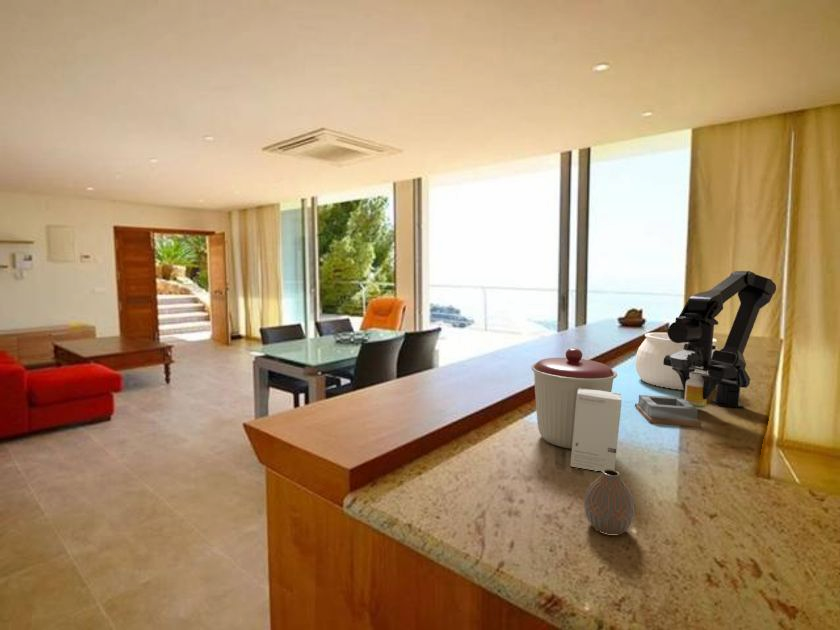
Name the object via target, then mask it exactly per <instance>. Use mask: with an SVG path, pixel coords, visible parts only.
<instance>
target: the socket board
mask: <svg viewBox="0 0 840 630" xmlns="http://www.w3.org/2000/svg"><path fill="white" fill-rule="evenodd" d="M635 407H636V408H635ZM634 408H635V409H636V410H637V411H638V412H639V414H641V415H642V416H643V417H644V419H645V420H646V421H647V422H648V423H649V424H656V425H657V424H660V425H674V426H685V427H686V426H687V427H698V428H701V427H702V422H701V421H699V420H698V410H699V409H696V408H695V407H694V406H692V405H691V404H690V403H688V402H687V401H686V400H684V398H683V397H679V396H663V395H651V394H650V395H649V394H648V395H647V394H638V403H634Z"/></svg>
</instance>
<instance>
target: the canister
mask: <svg viewBox="0 0 840 630" xmlns="http://www.w3.org/2000/svg"><path fill="white" fill-rule="evenodd" d="M530 367H531V370H532V372H533V376H534V377H533V379H534V394H535V395H534V396H535V409H536V410H535V411H536V420H537V429H538V432H539V434H540V437H541V438H542V439H543V440H544V441H546V442H547V443H550V444H551V445H554V446H557V447H561V448H565V449H571V450H572V442H573V432H574V421H575V409H576V400H577V391H578V388H584V389H592V390H601V391H606V392H612V390H613V385H614V384H613V383H614V379H616V378H617V377H618V373H617V371H615V370H614V369H612V368H611V366H609V365H607V364H604V363H602V362H598V361H596V360H591V359H585V358H584V359H583V352H582V351H581V350H580V349H578V348H569V349H567V350H566V352H565V357H550V358H544V359H541V360H538V361H537V362H535V363H533V364H532V365H531V366H530Z"/></svg>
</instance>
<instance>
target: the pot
mask: <svg viewBox="0 0 840 630" xmlns="http://www.w3.org/2000/svg"><path fill="white" fill-rule="evenodd" d="M644 337H645V339H644V340H643V341H642V342H641V344H640V346H639V347H638V349H637V352H636V354H635V362H634V363H635V369H636V372H637V375H638V377H639V378H640V380H641V381H643V382H645V383H647V384H649V385H652V386H655V385H656V387H659V386H660V388H663V387H665V388H664V389H668V388H671V389H670V390H675V389H678V391H684V389H683V385H682V382H681V379H680V377H679V374H678V373H677V372H676V371H675V370H673V369H672V368H673V367H672V366H667V365H663V362H664V358H665V357H666V355H673V354H675V353H677V352H679V351H682V350H683V349H684V345H685V344H688V342H686V343H675V342H673V341H671V340H670V338H669V337H668V332H647V333H645V334H644ZM717 342H718V340H717V339H716V338H714V337H713V344H712V345H714V346H716V349H714V350H712V355H713V352H714V351H715V350H719V349H718V347H717V345H716V343H717ZM712 355H711V358H712ZM694 369H695V368H694ZM694 372H702V373H705V374H706V375H707V371H703V370H699V369H695V371H694Z"/></svg>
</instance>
